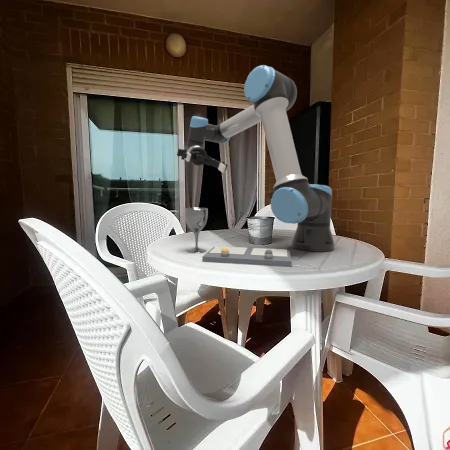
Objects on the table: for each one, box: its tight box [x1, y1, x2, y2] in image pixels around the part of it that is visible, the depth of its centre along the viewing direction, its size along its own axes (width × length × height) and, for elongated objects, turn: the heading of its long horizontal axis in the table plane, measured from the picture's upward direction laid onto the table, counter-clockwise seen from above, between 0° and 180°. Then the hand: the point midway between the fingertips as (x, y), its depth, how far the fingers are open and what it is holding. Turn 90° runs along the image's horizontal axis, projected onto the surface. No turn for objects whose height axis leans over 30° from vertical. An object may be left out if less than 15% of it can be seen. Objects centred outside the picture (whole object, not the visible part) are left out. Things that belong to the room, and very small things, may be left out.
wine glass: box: [184, 207, 209, 254], centre depth 94 cm, size 8×8×15 cm
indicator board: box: [201, 245, 293, 268], centre depth 85 cm, size 26×15×4 cm, turn 79°
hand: (207, 163), depth 98 cm, fingers open, 13 cm apart
